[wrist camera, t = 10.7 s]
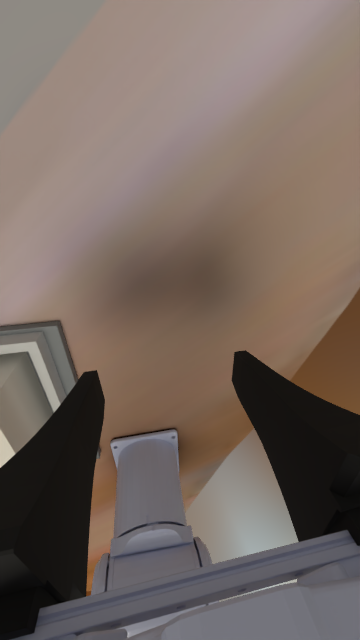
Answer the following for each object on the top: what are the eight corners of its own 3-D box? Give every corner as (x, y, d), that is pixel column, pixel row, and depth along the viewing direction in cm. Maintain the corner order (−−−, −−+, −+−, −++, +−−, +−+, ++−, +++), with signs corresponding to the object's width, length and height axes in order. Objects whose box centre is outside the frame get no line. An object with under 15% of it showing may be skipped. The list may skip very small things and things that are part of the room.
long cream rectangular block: (68, 451, 27) (52, 514, 21) (40, 456, 26) (17, 521, 21) (26, 351, 20) (-13, 408, 15) (-13, 355, 19) (-67, 415, 14)
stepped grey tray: (100, 451, 29) (98, 471, 27) (21, 465, 27) (12, 486, 26) (59, 320, 20) (51, 335, 18) (-61, 332, 19) (-84, 349, 17)
